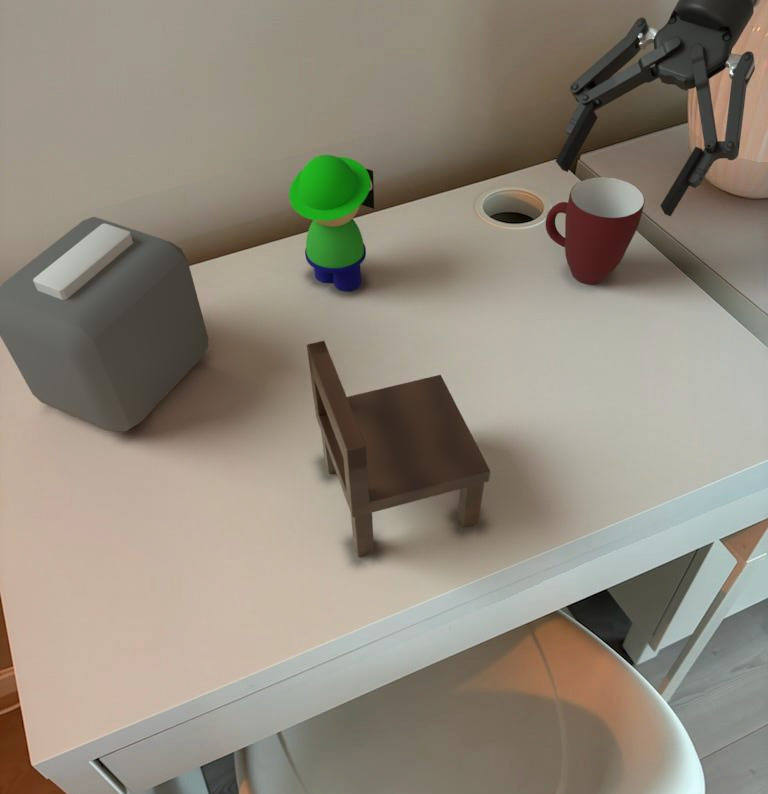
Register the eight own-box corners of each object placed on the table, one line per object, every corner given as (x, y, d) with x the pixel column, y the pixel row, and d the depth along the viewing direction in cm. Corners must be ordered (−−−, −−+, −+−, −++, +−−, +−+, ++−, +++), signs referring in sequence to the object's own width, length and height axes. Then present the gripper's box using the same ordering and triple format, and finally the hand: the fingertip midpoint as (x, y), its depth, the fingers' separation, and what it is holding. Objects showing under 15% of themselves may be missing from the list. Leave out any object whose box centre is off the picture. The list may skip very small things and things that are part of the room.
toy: (386, 270, 91) (385, 149, 79) (348, 311, 86) (340, 189, 74) (325, 248, 94) (314, 128, 81) (285, 287, 89) (267, 166, 77)
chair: (437, 432, 75) (444, 313, 63) (481, 525, 69) (499, 412, 56) (321, 461, 73) (306, 344, 61) (356, 560, 67) (346, 450, 54)
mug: (524, 276, 90) (537, 199, 82) (550, 241, 94) (564, 164, 86) (609, 303, 86) (630, 226, 78) (632, 265, 91) (655, 188, 82)
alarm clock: (142, 321, 86) (98, 195, 73) (224, 351, 83) (192, 224, 70) (43, 414, 78) (-26, 290, 65) (129, 451, 74) (75, 328, 62)
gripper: (839, 47, 77) (716, 242, 83) (627, -16, 87) (531, 162, 93) (842, 5, 70) (709, 219, 76) (613, -58, 80) (511, 136, 86)
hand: (611, 188), depth 84 cm, fingers open, 13 cm apart
